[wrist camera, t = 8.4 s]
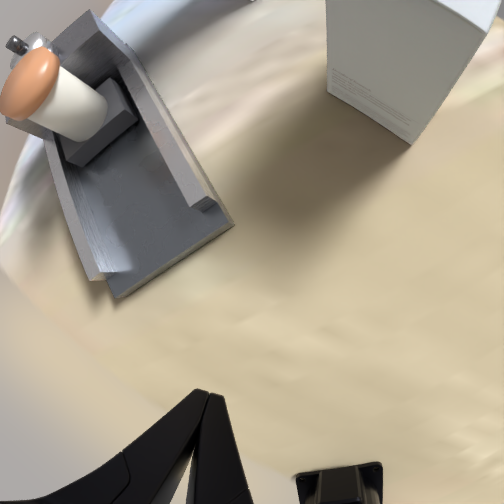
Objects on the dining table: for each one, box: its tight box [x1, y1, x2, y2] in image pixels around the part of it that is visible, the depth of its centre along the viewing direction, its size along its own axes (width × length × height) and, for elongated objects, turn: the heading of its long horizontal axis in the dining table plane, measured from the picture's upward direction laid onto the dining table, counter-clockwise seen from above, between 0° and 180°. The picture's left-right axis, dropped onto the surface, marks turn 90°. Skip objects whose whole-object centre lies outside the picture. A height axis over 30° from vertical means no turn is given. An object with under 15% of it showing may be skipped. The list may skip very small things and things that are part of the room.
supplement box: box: [326, 0, 502, 145], centre depth 13 cm, size 7×7×13 cm
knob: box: [0, 46, 138, 167], centre depth 18 cm, size 5×6×9 cm
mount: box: [6, 9, 235, 298], centre depth 20 cm, size 20×10×8 cm, turn 31°
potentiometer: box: [6, 32, 59, 70], centre depth 15 cm, size 3×3×4 cm
